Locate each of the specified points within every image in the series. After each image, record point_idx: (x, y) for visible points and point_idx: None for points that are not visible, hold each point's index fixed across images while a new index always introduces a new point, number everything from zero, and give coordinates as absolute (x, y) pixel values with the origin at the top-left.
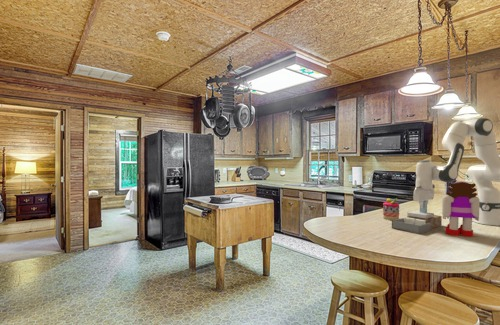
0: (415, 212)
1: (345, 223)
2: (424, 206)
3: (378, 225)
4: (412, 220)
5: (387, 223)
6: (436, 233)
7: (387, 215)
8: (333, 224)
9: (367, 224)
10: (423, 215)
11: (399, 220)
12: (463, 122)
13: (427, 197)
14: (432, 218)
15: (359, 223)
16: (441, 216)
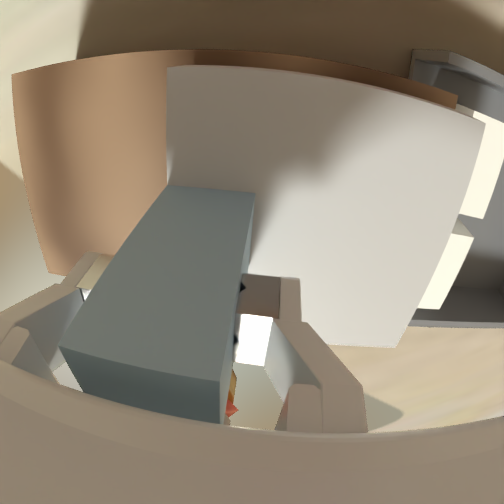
0: (328, 296)
1: (470, 414)
2: (240, 276)
3: (457, 353)
4: (466, 233)
5: (370, 351)
6: (485, 8)
7: (232, 404)
8: (499, 415)
9: (456, 382)
10: (469, 160)
11: (446, 313)
12: None
13: (3, 466)
14: (289, 55)
15: (449, 401)
16: (16, 73)
